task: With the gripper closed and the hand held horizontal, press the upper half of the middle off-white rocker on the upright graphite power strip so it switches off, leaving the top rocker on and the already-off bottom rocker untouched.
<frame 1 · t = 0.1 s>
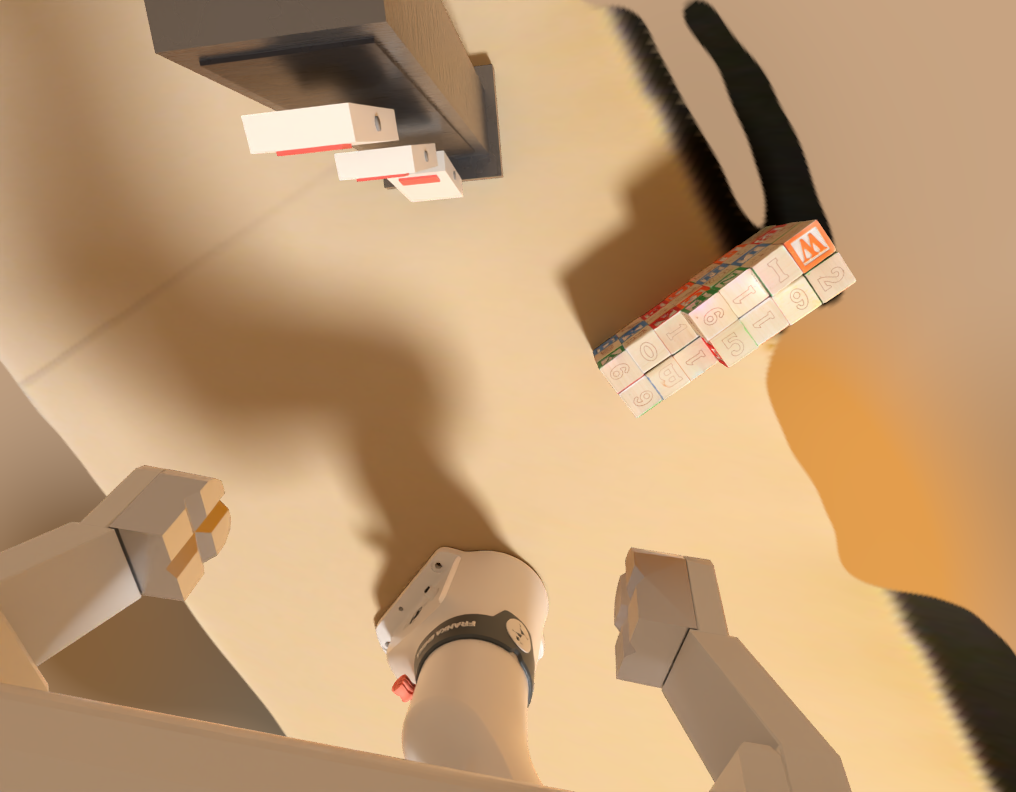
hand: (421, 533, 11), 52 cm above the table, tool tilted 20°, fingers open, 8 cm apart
power strip: (439, 131, 58), on the table
stack of blocks: (691, 313, 61), on the table
middle rocker: (391, 161, 40), point 20 cm above the table, hinge at -10.0°
bottom rocker: (426, 179, 51), point 9 cm above the table, hinge at 10.0°
top rocker: (330, 131, 30), point 31 cm above the table, hinge at -10.0°
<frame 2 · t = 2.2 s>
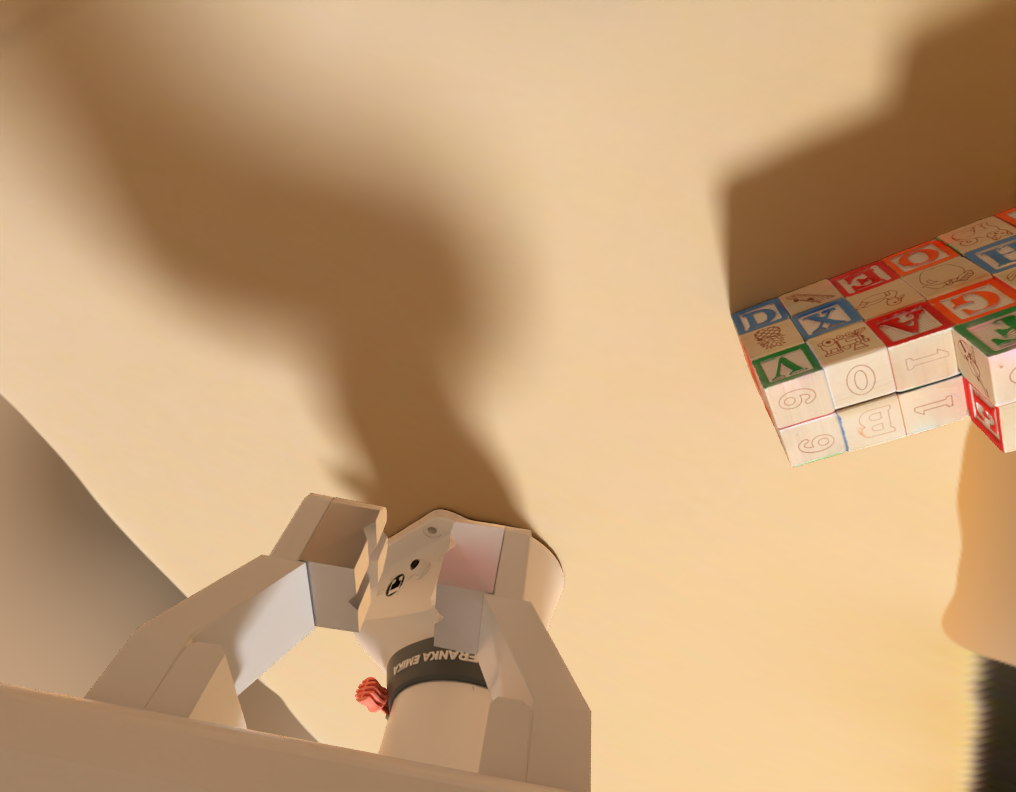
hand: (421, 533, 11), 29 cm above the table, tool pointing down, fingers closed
stack of blocks: (912, 289, 37), on the table
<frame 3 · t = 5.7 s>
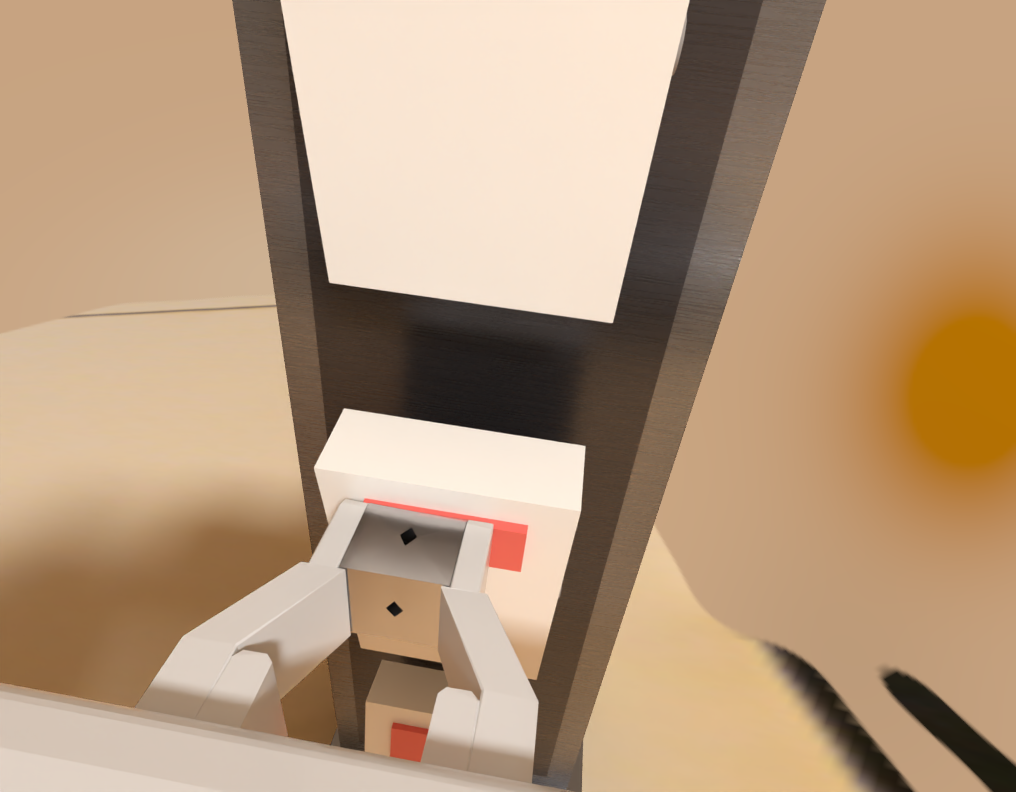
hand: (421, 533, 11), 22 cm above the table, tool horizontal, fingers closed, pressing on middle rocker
power strip: (461, 739, 30), on the table
middle rocker: (453, 567, 14), point 20 cm above the table, hinge at -9.9°, touching gripper
bottom rocker: (441, 777, 20), point 9 cm above the table, hinge at 10.0°
top rocker: (484, 25, 8), point 31 cm above the table, hinge at -10.0°
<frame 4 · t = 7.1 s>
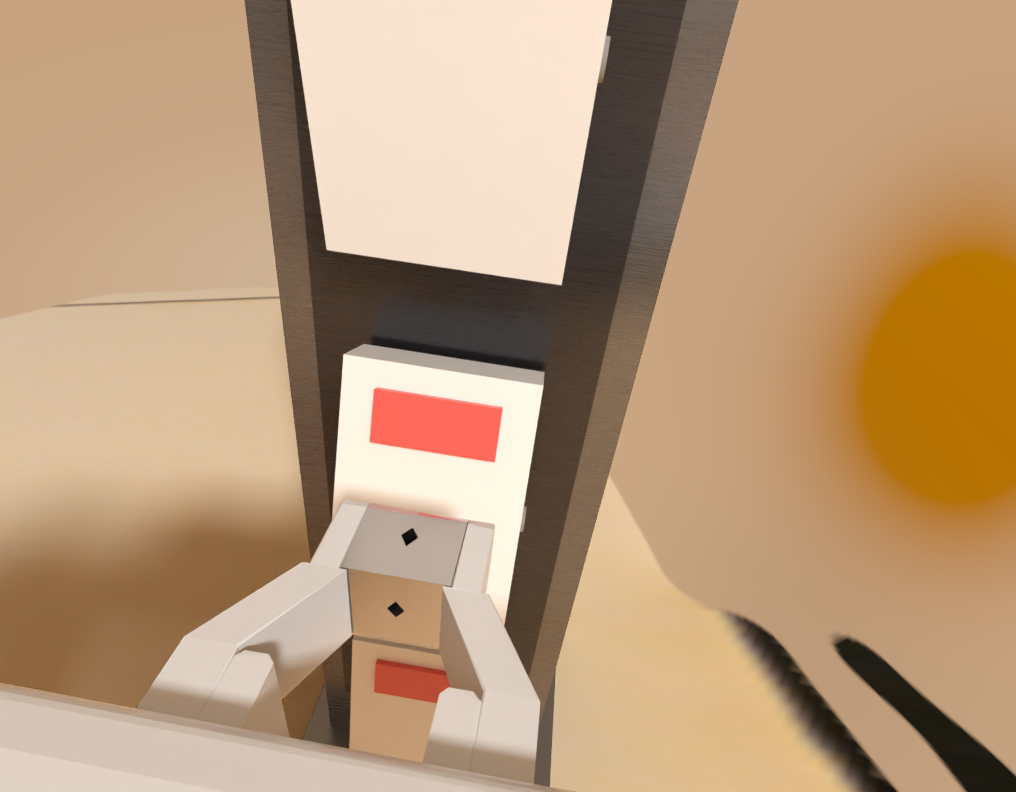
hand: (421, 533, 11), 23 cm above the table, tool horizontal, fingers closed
power strip: (441, 697, 32), on the table
middle rocker: (431, 505, 16), point 20 cm above the table, hinge at 18.6°
bottom rocker: (420, 714, 22), point 9 cm above the table, hinge at 10.0°
top rocker: (454, 41, 10), point 31 cm above the table, hinge at -10.0°
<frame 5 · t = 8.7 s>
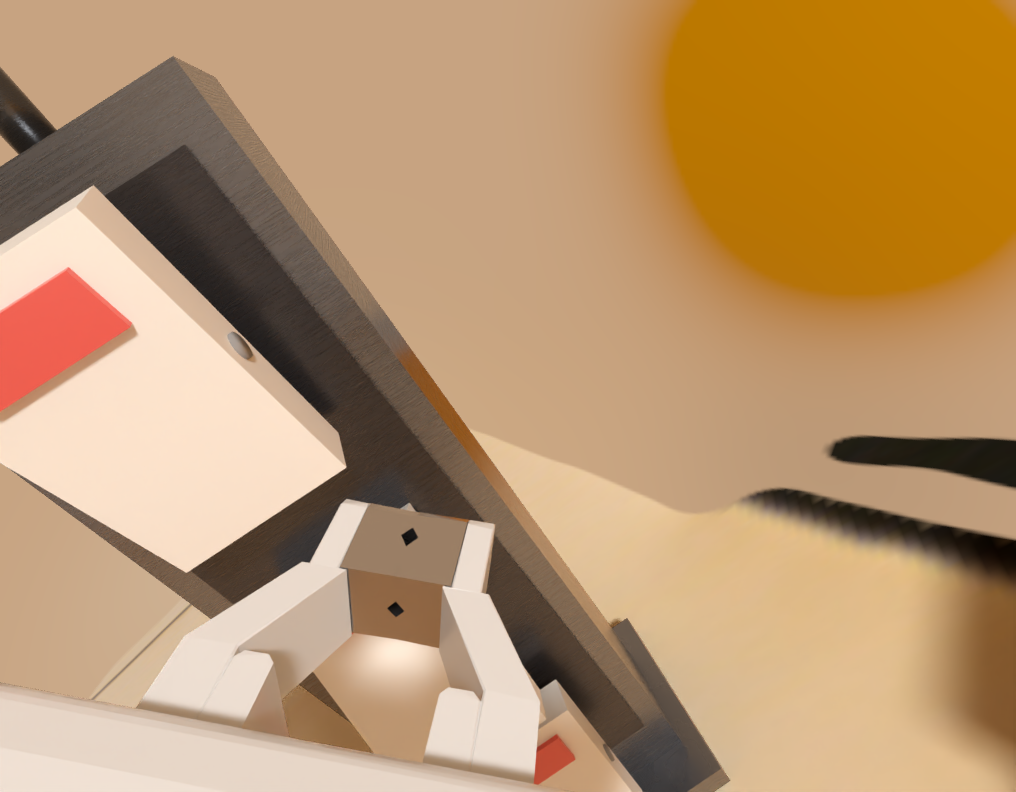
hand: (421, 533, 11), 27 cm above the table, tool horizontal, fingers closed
power strip: (590, 754, 33), on the table
middle rocker: (411, 653, 19), point 20 cm above the table, hinge at 23.4°, touching power strip
bottom rocker: (558, 788, 24), point 9 cm above the table, hinge at 10.0°
top rocker: (146, 408, 13), point 31 cm above the table, hinge at -10.0°
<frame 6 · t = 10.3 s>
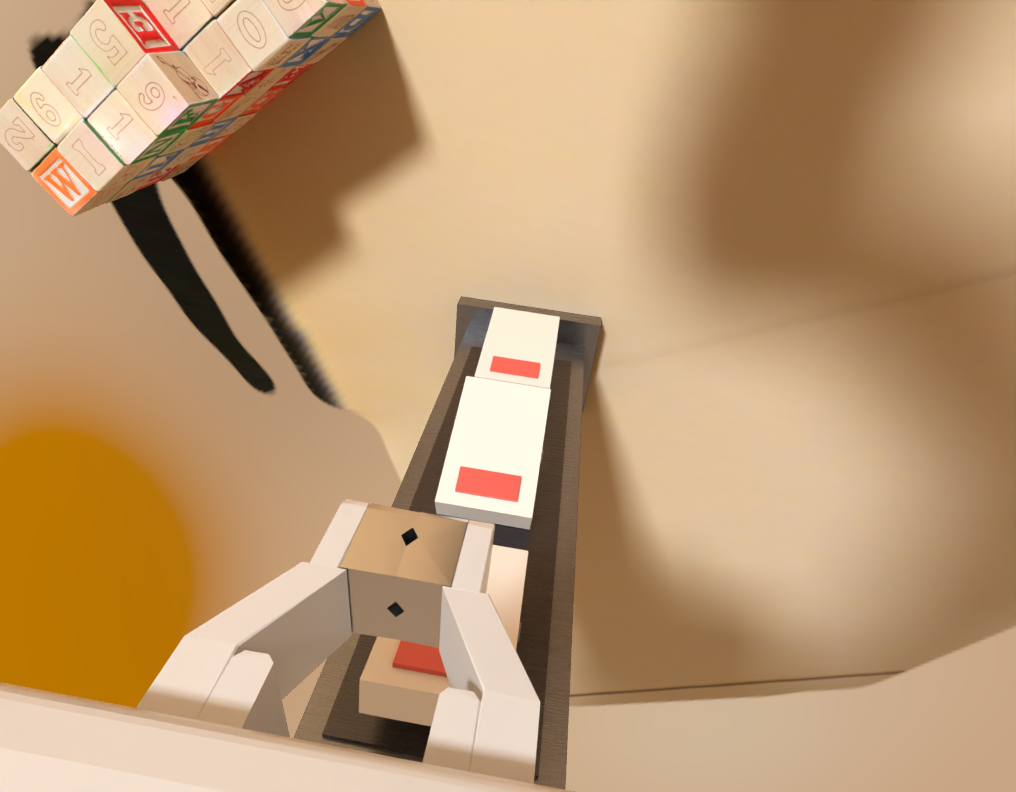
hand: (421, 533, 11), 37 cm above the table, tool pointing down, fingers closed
power strip: (523, 357, 52), on the table
stack of blocks: (246, 58, 42), on the table
middle rocker: (496, 447, 32), point 20 cm above the table, hinge at 22.2°
bottom rocker: (519, 352, 41), point 9 cm above the table, hinge at 10.0°
top rocker: (455, 618, 23), point 31 cm above the table, hinge at -10.0°
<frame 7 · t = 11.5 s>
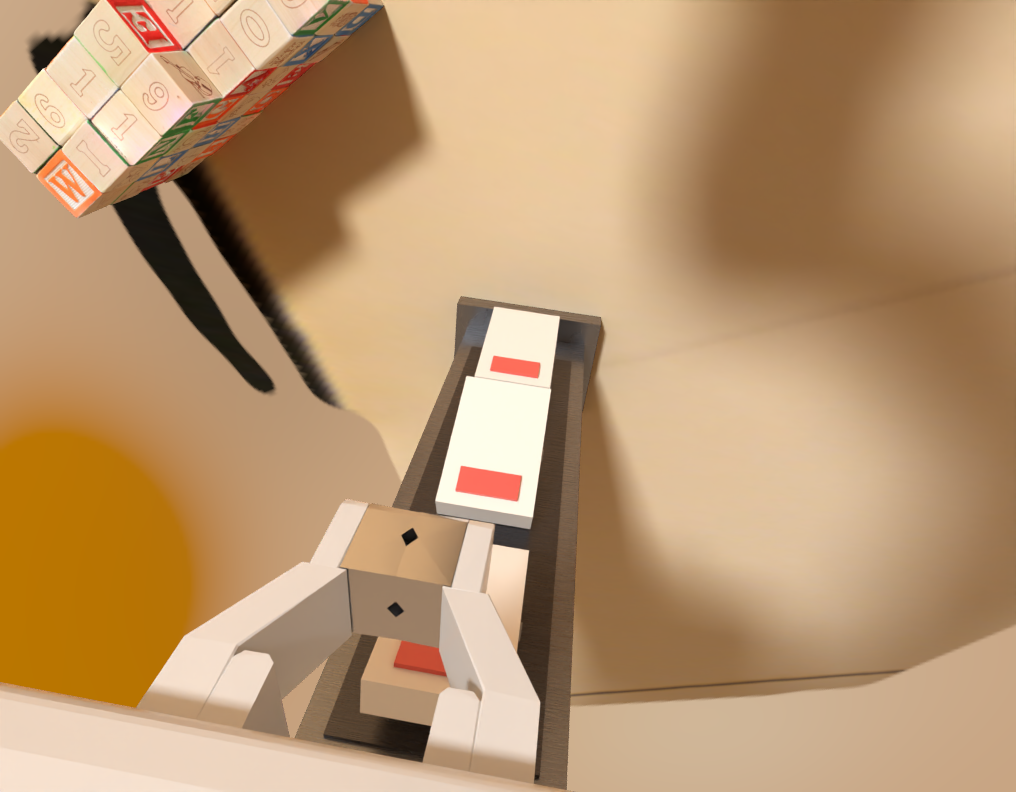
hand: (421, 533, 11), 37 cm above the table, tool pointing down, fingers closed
power strip: (523, 357, 52), on the table
stack of blocks: (248, 58, 42), on the table
middle rocker: (496, 447, 32), point 20 cm above the table, hinge at 21.9°
bottom rocker: (519, 351, 41), point 9 cm above the table, hinge at 10.0°
top rocker: (456, 618, 23), point 31 cm above the table, hinge at -10.0°
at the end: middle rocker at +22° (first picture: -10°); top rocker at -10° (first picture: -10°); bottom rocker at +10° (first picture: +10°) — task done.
